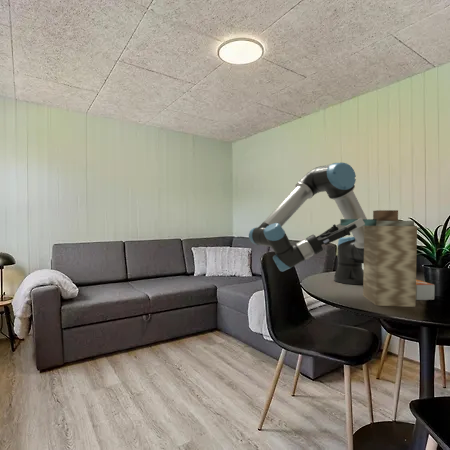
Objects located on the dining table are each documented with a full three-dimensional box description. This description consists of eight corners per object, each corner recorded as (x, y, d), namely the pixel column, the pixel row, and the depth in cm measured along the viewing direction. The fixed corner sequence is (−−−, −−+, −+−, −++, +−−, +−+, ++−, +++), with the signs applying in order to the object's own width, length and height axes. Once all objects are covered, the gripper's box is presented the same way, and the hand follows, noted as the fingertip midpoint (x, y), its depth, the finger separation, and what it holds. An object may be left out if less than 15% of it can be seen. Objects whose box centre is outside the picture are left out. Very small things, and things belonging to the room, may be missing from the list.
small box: (411, 277, 135) (435, 284, 122) (411, 291, 135) (434, 300, 122) (394, 278, 134) (416, 284, 121) (394, 292, 134) (416, 300, 121)
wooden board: (376, 305, 114) (377, 220, 113) (363, 295, 128) (364, 220, 127) (415, 306, 112) (417, 221, 111) (398, 296, 126) (399, 220, 125)
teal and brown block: (342, 225, 119) (342, 210, 119) (339, 225, 126) (339, 210, 126) (397, 226, 115) (398, 210, 115) (391, 225, 122) (391, 210, 122)
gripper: (309, 251, 135) (352, 227, 132) (320, 259, 110) (373, 230, 108) (300, 236, 135) (343, 212, 133) (310, 241, 110) (363, 212, 108)
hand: (357, 220), depth 120 cm, fingers open, 13 cm apart
